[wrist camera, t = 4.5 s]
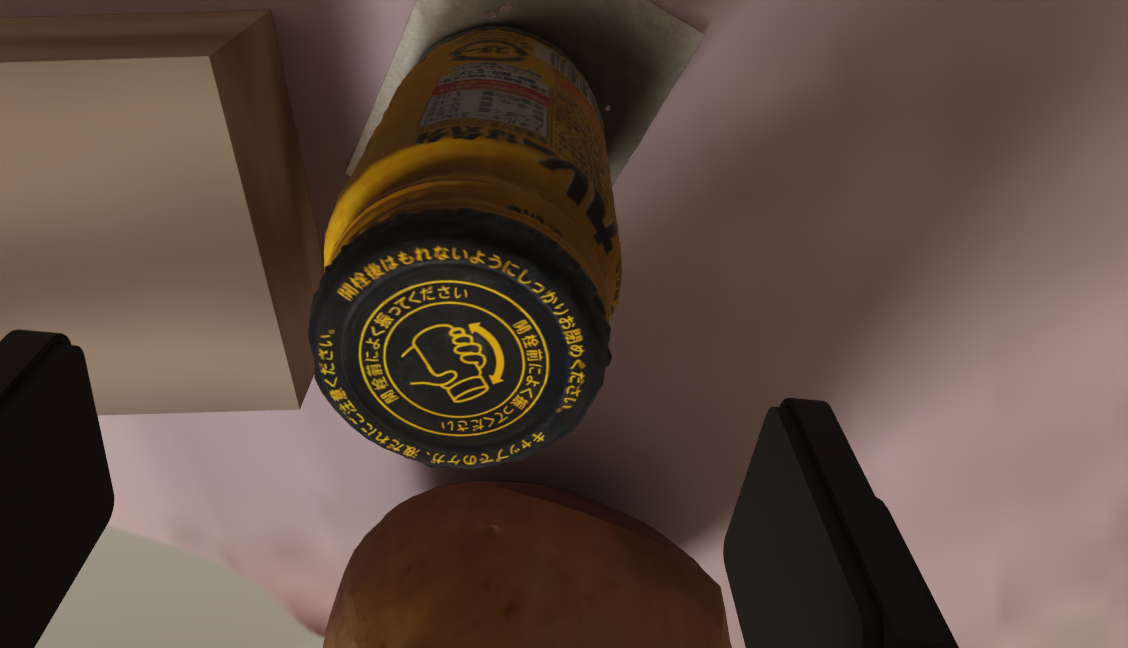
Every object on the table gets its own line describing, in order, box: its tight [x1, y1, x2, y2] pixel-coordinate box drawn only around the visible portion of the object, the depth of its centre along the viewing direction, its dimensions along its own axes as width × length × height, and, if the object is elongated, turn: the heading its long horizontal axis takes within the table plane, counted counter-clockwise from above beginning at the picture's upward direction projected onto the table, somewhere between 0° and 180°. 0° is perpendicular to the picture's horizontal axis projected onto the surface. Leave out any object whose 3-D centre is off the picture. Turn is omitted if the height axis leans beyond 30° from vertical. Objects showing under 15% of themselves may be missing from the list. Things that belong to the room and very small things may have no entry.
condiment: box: [308, 0, 705, 469], centre depth 19 cm, size 7×8×12 cm
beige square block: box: [0, 10, 325, 415], centre depth 23 cm, size 10×10×5 cm
